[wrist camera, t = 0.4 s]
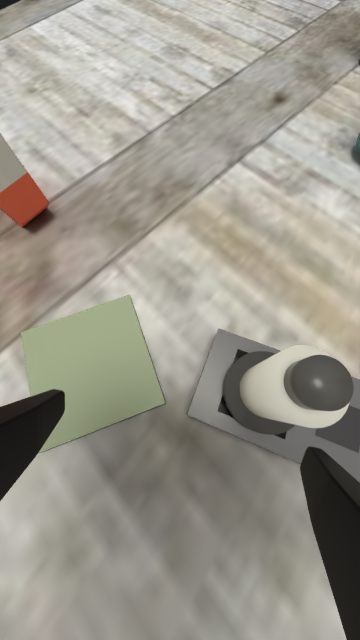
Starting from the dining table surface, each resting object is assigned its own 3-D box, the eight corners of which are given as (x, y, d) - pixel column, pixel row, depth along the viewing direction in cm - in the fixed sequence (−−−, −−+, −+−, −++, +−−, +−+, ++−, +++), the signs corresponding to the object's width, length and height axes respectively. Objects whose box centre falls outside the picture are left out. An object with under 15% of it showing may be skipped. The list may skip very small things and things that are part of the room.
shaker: (296, 412, 22) (434, 427, 9) (235, 438, 21) (297, 489, 9) (265, 351, 24) (345, 297, 11) (208, 373, 23) (229, 342, 11)
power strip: (436, 418, 21) (475, 421, 18) (430, 518, 19) (475, 540, 16) (215, 336, 24) (218, 327, 22) (187, 413, 22) (187, 415, 19)
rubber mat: (165, 402, 22) (165, 403, 22) (42, 451, 21) (38, 452, 21) (130, 297, 26) (129, 294, 26) (24, 334, 25) (21, 332, 25)
